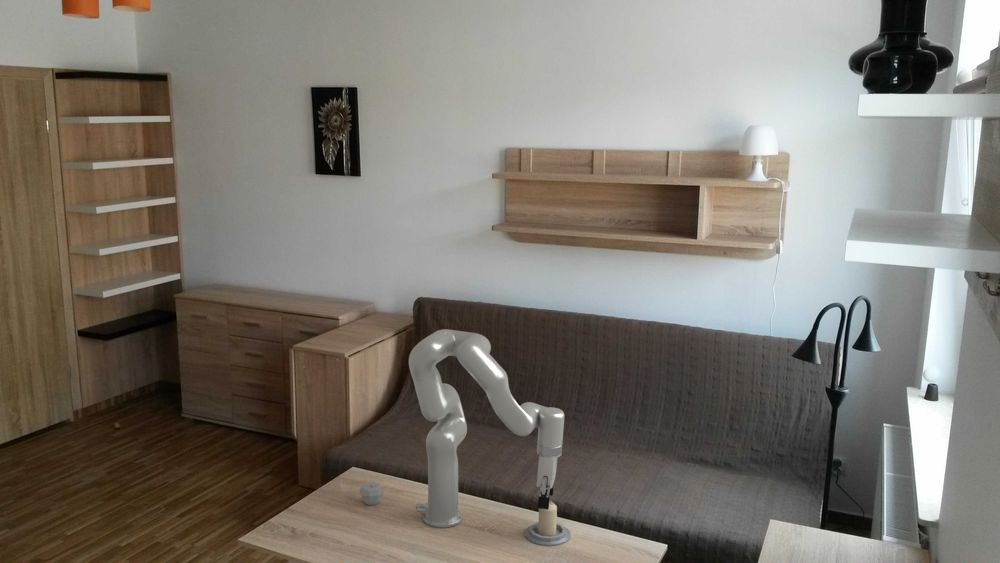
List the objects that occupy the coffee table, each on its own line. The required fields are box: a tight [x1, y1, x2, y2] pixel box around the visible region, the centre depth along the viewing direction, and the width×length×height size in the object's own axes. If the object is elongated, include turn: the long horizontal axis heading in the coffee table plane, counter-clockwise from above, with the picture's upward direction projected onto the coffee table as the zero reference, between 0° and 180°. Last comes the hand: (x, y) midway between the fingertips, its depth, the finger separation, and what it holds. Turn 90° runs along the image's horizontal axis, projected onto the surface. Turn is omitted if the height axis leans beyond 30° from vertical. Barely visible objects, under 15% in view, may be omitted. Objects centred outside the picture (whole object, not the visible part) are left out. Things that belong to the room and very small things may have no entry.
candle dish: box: [524, 521, 571, 547], centre depth 254 cm, size 14×14×2 cm
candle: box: [537, 500, 558, 537], centre depth 254 cm, size 6×6×10 cm
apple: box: [359, 481, 384, 506], centre depth 274 cm, size 8×8×7 cm
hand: (545, 501), depth 253 cm, fingers open, 9 cm apart
